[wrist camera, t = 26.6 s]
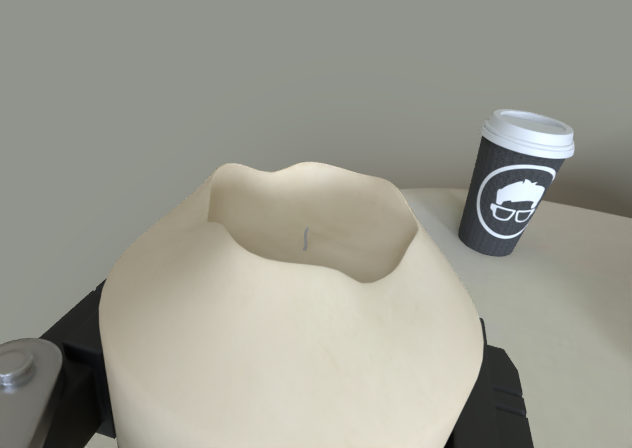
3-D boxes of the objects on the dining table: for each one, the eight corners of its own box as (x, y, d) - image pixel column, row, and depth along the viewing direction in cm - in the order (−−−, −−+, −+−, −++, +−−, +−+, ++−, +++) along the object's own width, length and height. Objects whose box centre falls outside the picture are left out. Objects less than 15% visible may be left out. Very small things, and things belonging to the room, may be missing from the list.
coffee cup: (537, 245, 53) (593, 128, 46) (507, 275, 47) (566, 145, 39) (467, 212, 58) (506, 102, 51) (431, 235, 52) (470, 113, 44)
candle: (281, 798, 8) (443, 501, 3) (88, 578, 10) (-23, 188, 5) (401, 522, 12) (553, 203, 7) (246, 411, 14) (274, 109, 9)
